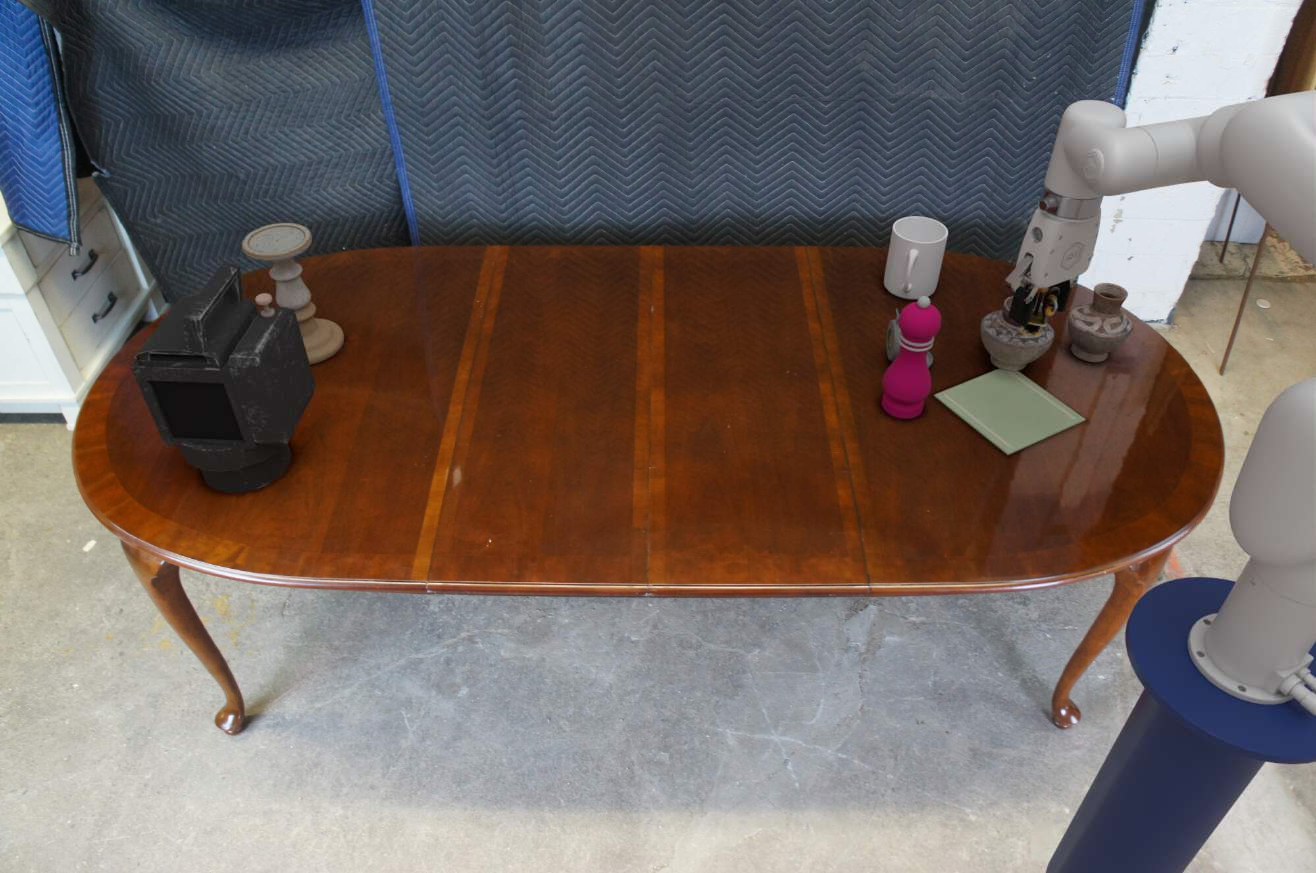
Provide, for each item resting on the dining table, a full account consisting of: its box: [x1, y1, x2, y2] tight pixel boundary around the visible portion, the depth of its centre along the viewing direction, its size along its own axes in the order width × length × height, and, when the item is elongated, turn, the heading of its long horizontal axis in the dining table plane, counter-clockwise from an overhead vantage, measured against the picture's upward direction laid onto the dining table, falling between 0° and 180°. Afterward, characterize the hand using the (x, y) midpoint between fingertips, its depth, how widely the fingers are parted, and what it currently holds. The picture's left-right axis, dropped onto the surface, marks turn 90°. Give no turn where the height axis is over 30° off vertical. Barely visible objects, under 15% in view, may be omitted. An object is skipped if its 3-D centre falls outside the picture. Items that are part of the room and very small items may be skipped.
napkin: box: [933, 368, 1086, 456], centre depth 152 cm, size 16×16×1 cm
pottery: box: [979, 282, 1134, 371], centre depth 158 cm, size 11×25×12 cm, turn 101°
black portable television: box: [130, 262, 317, 494], centre depth 133 cm, size 15×18×30 cm
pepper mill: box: [881, 296, 942, 420], centre depth 146 cm, size 7×7×20 cm
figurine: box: [1020, 282, 1060, 337], centre depth 139 cm, size 5×5×8 cm
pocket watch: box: [885, 308, 934, 369], centre depth 158 cm, size 8×8×10 cm
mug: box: [883, 215, 949, 301], centre depth 174 cm, size 10×12×12 cm
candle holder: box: [241, 222, 345, 366], centre depth 158 cm, size 12×12×20 cm
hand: (1036, 313), depth 140 cm, fingers closed on figurine, 6 cm apart
